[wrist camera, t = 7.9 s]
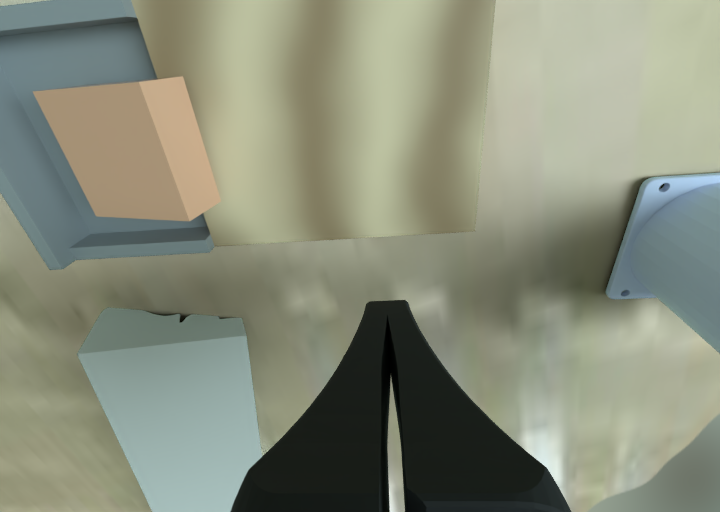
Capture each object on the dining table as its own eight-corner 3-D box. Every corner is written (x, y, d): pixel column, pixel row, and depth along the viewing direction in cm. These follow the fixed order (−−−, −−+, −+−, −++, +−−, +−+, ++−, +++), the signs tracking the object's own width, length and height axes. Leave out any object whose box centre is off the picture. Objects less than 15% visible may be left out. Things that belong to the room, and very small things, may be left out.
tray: (149, -2, 16) (101, -12, 13) (224, 234, 22) (202, 261, 19) (-32, 20, 17) (-113, 14, 14) (89, 242, 23) (49, 269, 20)
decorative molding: (248, 293, 28) (105, 305, 26) (246, 335, 24) (76, 354, 22) (272, 504, 45) (188, 523, 43) (273, 549, 42) (181, 572, 39)
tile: (182, 76, 16) (138, 82, 14) (221, 201, 19) (189, 221, 17) (84, 85, 17) (32, 91, 15) (134, 198, 21) (96, 216, 18)
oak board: (489, -41, 15) (500, -50, 13) (468, 219, 21) (474, 231, 20) (149, -2, 16) (129, -6, 15) (224, 234, 22) (214, 246, 21)
